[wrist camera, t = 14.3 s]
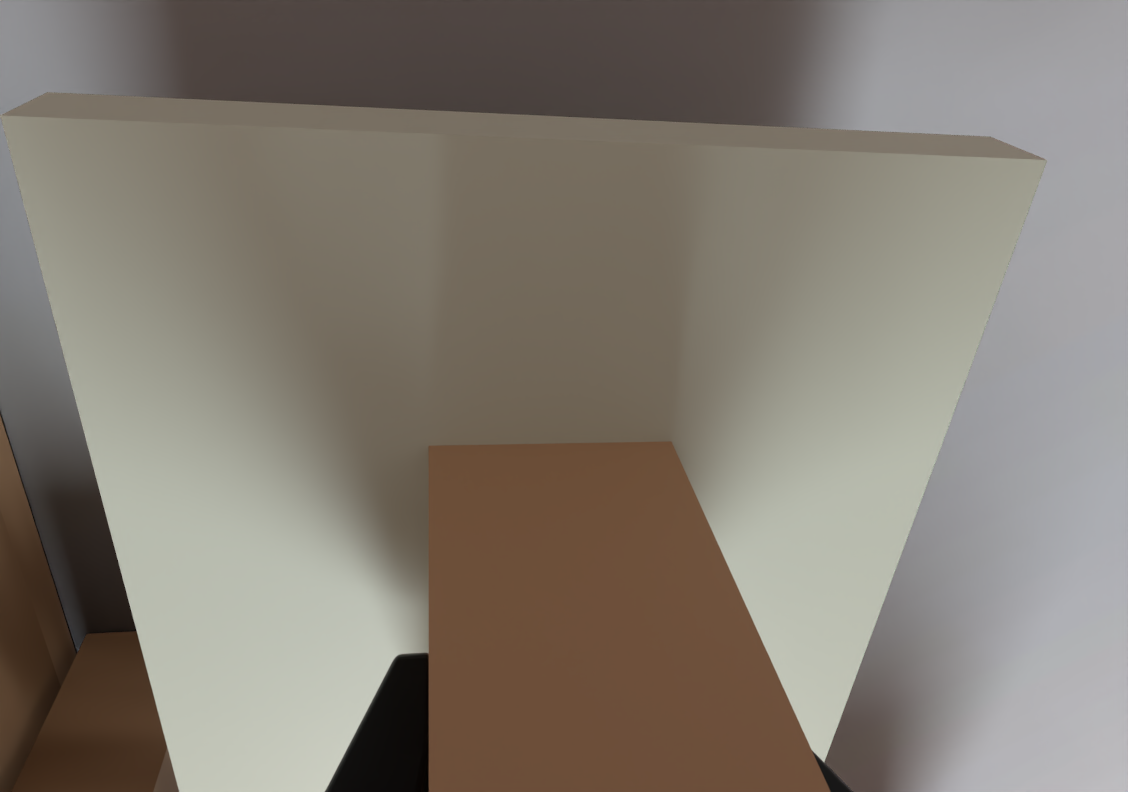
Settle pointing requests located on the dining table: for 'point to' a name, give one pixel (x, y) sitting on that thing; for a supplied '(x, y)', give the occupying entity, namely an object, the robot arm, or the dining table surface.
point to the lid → (509, 420)
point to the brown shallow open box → (66, 680)
